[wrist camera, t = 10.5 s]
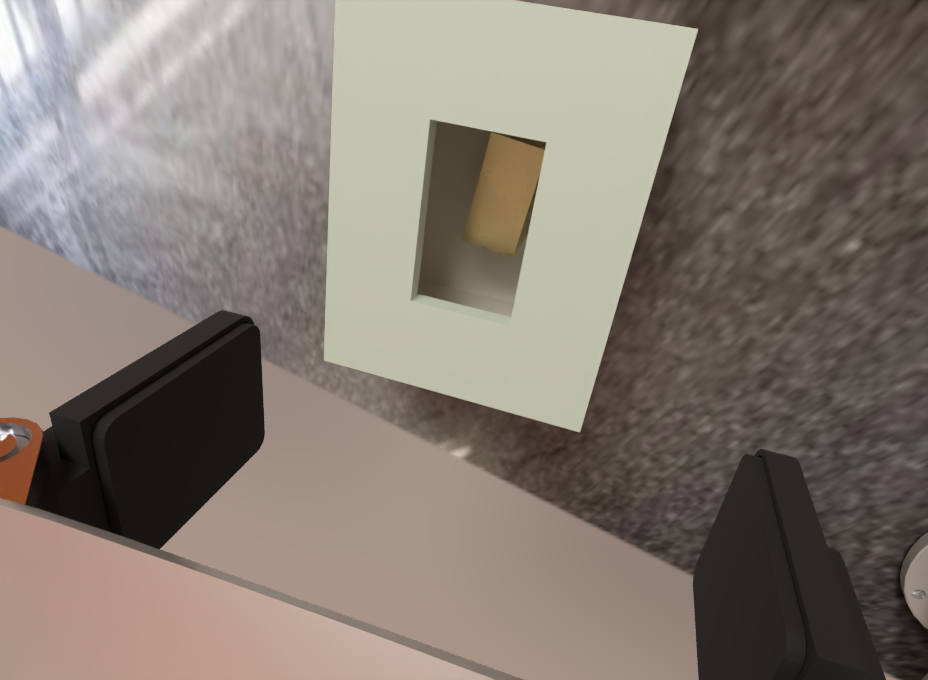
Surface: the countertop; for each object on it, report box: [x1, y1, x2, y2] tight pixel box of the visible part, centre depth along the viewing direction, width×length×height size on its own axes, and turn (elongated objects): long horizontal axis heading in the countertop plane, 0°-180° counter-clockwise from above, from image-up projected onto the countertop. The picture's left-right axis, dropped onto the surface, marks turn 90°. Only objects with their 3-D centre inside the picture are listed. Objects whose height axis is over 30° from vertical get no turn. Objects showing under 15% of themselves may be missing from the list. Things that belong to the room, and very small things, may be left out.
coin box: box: [324, 0, 698, 432], centre depth 32 cm, size 18×14×12 cm
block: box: [462, 132, 546, 258], centre depth 34 cm, size 6×3×6 cm, turn 165°
